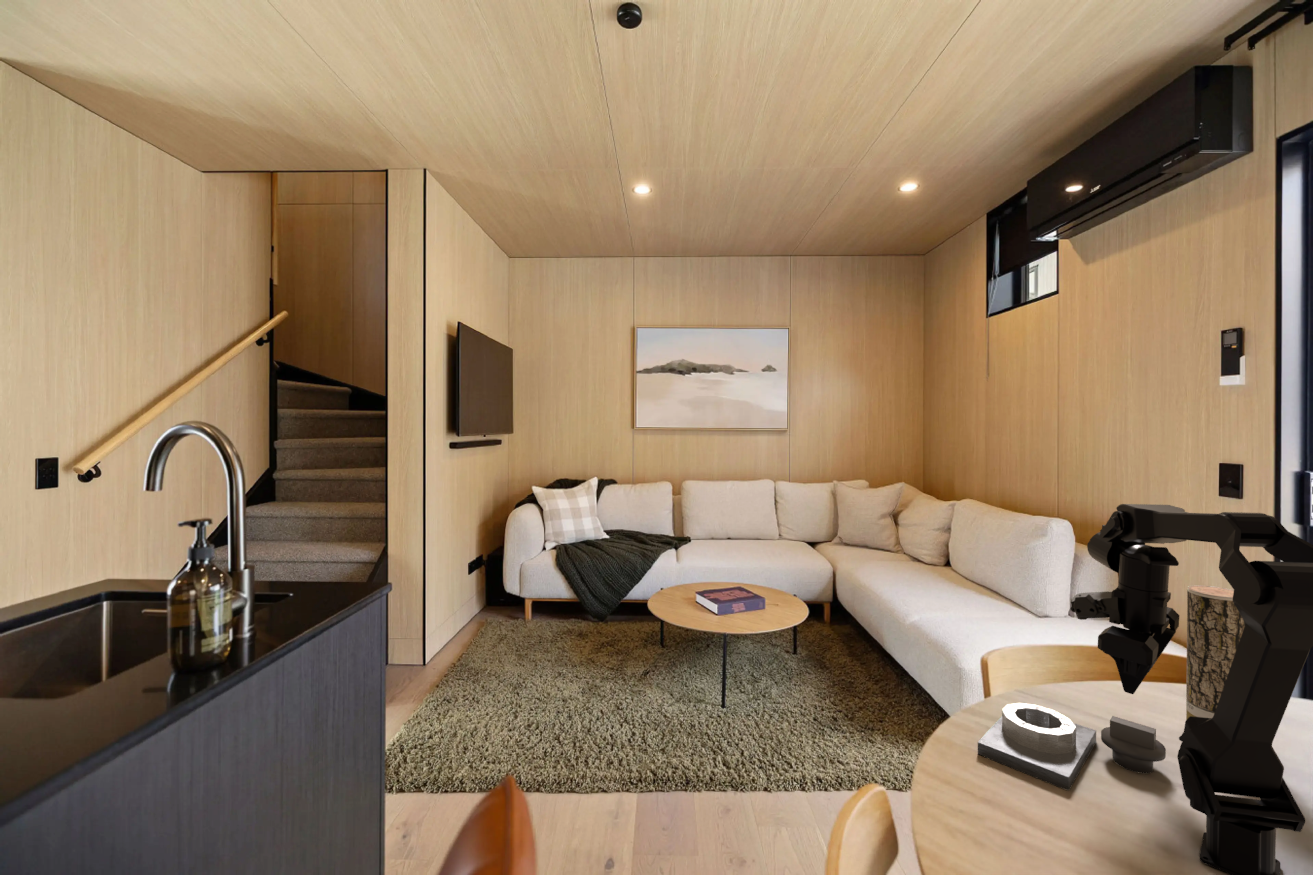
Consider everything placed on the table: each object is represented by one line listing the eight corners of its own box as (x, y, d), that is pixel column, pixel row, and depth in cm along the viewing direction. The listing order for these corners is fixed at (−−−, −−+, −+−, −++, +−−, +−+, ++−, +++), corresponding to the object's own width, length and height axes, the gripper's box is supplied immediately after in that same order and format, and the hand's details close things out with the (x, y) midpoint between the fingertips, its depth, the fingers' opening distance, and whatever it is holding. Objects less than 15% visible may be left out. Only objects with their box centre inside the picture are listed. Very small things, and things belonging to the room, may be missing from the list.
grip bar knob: (1161, 786, 80) (1162, 744, 80) (1096, 762, 86) (1096, 723, 86) (1168, 764, 85) (1169, 725, 85) (1106, 743, 91) (1106, 706, 91)
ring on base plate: (1068, 790, 79) (1068, 756, 79) (977, 754, 88) (977, 723, 88) (1096, 741, 91) (1096, 712, 91) (1013, 714, 100) (1013, 687, 100)
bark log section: (1195, 745, 90) (1196, 594, 90) (1179, 724, 96) (1180, 583, 96) (1252, 756, 87) (1254, 599, 86) (1232, 734, 93) (1234, 588, 92)
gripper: (1095, 558, 96) (1091, 644, 98) (1058, 586, 85) (1054, 681, 86) (1182, 575, 87) (1176, 668, 89) (1154, 608, 76) (1148, 714, 77)
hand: (1136, 681), depth 85 cm, fingers open, 9 cm apart
